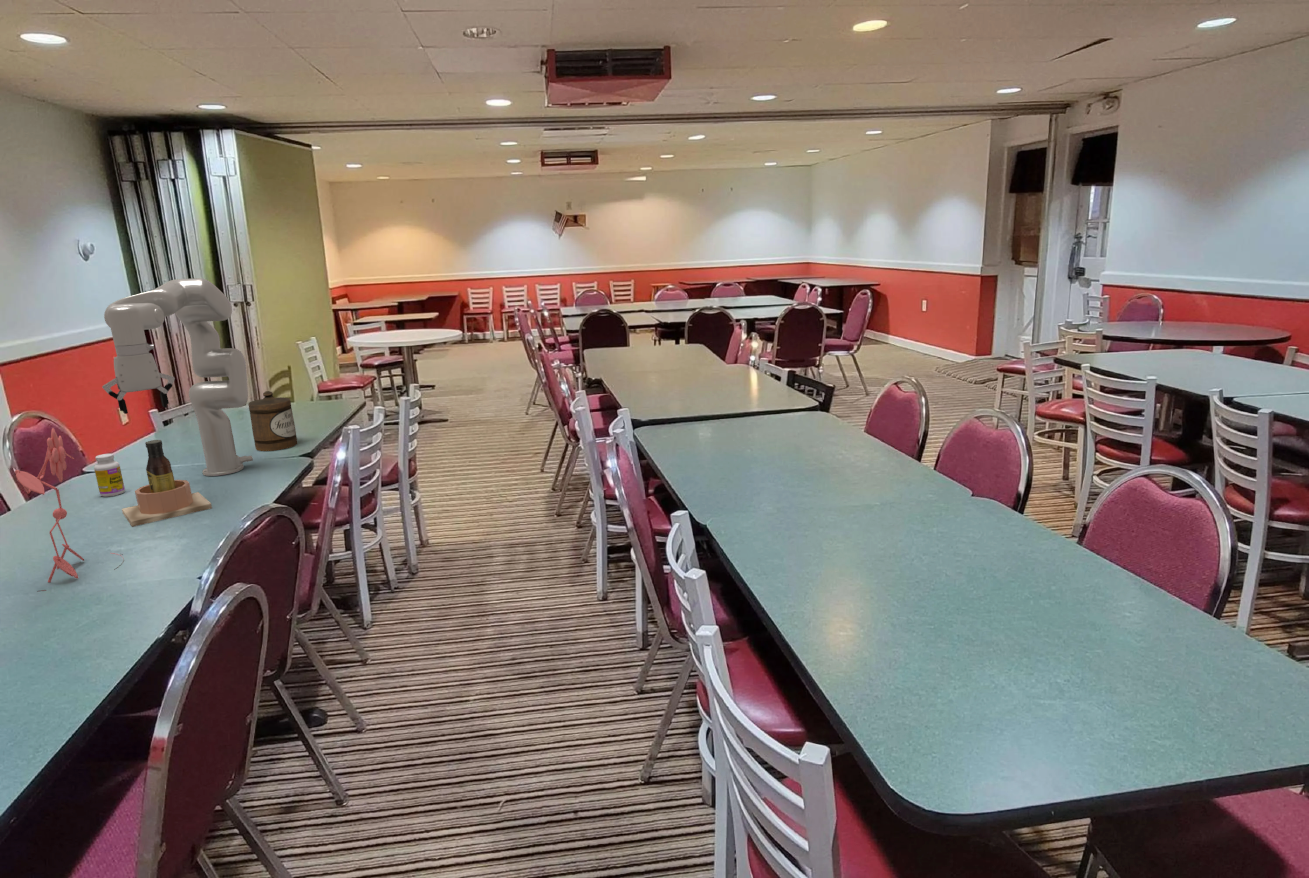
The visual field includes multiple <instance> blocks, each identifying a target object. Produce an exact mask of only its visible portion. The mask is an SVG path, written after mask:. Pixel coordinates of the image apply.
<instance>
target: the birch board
mask: <svg viewBox="0 0 1309 878" xmlns="http://www.w3.org/2000/svg"><path fill="white" fill-rule="evenodd" d="M191 493H192V498H193V502H192V503H191V504H190V505H189V506H187V507H184V508H181V509H179V510H175V511H170V512H166V513H158V514H142V513H141V512H140V511H139V508H138V504H137V505H134V506H129V507H124V508H121V512H122V514H123V516H124V517H125V519H126V521H128V523H129V524H130V527H132V528H133V527H137V526H142V525H147V524H151V523H155V522H160V521H162V520H163V521H164V520H167V519H173V518H176V517H181V516H185V515H189V514H194V513H198V512H203V511H207V510H211V509H213V507H212V503H211V502H210V501H209V500H208V499H207V498H206V497H205V496H203V495H202V494H201V493H200V492H199V491H198V492H191Z"/></svg>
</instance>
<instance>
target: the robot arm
mask: <svg viewBox="0 0 1309 878" xmlns="http://www.w3.org/2000/svg"><path fill="white" fill-rule="evenodd" d="M232 307H233V306H232V303H231V302H230V299H229V298H228V297H227V296H226V295H225V293H223V292H222V291H221V290H220V289H219V288H218V287H217V286H216V285H215V284H214V283H212V282H211V281H210V280H208V279H207V278H203V277H199V278H179V279H178V278H177V279H171V280H168V281H167V282H165V283H164V284H161V285H160V286H158V287H156V288H154V289H152V290H148V291H144V292H141V293H137V294H134V295H130V296H126V297H122V298H120V299H117V300H115V301H114V302H112V303H109V305H107V307H106V308H105V310H104V314H103V315H104V316H103V317H104V321H105V324H106V325H107V327H109V328H110V331H111V337H112V340H113V344H114V349H115V353H116V356H114V357H113V369H114V376H115V378H113V379H111V380H109V381H108V382H107V383H105V384H103V385H102V386H101V387H102V389H103V390H104V392H106V393H107V395H109V396H111V397H112V398H113V399H115V400H117V404H118V406H119V407H118V408H119V411H120V412H122V413H123V414H124V415H127V414H128V408H127V407H128V406H127V403H126V400H125V398H124V397H125V396H126V394H127V393H134V392H141V391H148V390H154V389H156V390H158V391H160V393H159V397H160V398H159V399H160V402H161V406H162V407H163V408H164V409H165V408H166V409H167V408H168V405H169V404H170V403H169V397H168V392H169V391H170V390H171V389H172V388H173V384H174V382H175V379H176V378H175V376H172V375H169V374H165V373H161V372H159V369H158V365H157V363H156V361H155V357H154V355H153V354H152V353H151V352H150V351H151V350H154V349H155V346H154V344H151V343H148V342H147V337H146V335H145V334H146V333H145V330H155V329H158V328H160V327H162V325H163V324H164V321H165V318H166V317H170V316H172V315H174V314H175V316H176V317H177V318H178V320H179V321H180V322H181V323H182V325H183V326H184V327H185V329H186V331H187V332H188V335H189V338H190V346H191V349H190V350H191V361H192V362H191V363H192V369H193V372H194V374H195V375H196V376H197V377H200V378H222V377H223V378H224V377H228V379H227V380H208V381H200V382H196V383H194V384H193V385H191V386H190V388H189V390H188V398H189V401H190V403H191V406H192V408H193V411H194V413H195V416H196V421H197V425H198V431H199V435H200V440H201V446H202V450H203V456H204V460H205V465H206V468H204V469H203V470H202V472H201V473H202V475H203V476H207V477H218V476H224V475H230V474H234V473H237V472H240V471H242V470H244V468H245V467H244V463H246V462H247V463H248V462H252V461H254V457H253V456H252V455H242V456H239V455H237V450H236V446H235V445H236V444H235V440H234V433H233V429H232V423H231V420H230V418H229V416H228V415H227V414H226V412H225V411H223V409H236V408H237V409H238V408H242V407H245V406H246V405H247V403H248V400H249V390H248V389H249V387H248V372H247V371H248V370H247V365H246V364H247V362H246V359H245V356H244V354H243V353H242V351H241V350H239V349H237V348H232V347H229V348H221V342H220V341H221V339H220V335H219V332H218V330H216V328H214V326H213V325H212V324H210V322H222V321H223V322H224V321H226V320H228V319H229V318H231V316H232V314H233V308H232ZM161 378H162V379H164V380H167V382H166V384H165V386H164V387H163V386H162V380H161ZM115 385H116V386H117V389H118V392H117V393H116V392H114V391H113V390H112V389H111V388H112V387H113V386H115Z"/></svg>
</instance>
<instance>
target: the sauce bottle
mask: <svg viewBox="0 0 1309 878" xmlns="http://www.w3.org/2000/svg"><path fill="white" fill-rule="evenodd" d="M144 445H145V447H146V449H147V457H148V458H147V463H146V468H145V470H146V475H147V481H148V485H149V486H150V490H151V493H157V492H164V491H168V490H173V489H176V486H175V481H174V480H175V476H174V472H173V469H172V464H171V461H170V460H169V458H167V457H166V456H165V453H164V449H163V441H162V439H152V440H147V441H145V442H144Z"/></svg>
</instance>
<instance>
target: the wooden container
mask: <svg viewBox="0 0 1309 878" xmlns="http://www.w3.org/2000/svg"><path fill="white" fill-rule="evenodd" d="M262 395H263V398H261V399H257V400H253V401H250V402H248V411H249V416H250V423H251V429H252V436H253V440H254V447H255V450H256V451H257V452H258V451H259V452H274V451H277V452H278V451H282V450H286V449H290V448H294V447H295V446H296V445H297V446H298V437H297V431H296V424H295V419H294V414H293V409H292V402H291V401H292V400H291V398H290V397H284V396H283V397H274V396H273V391H271V390H268V391H267V390H266V391H264V392H263V394H262Z"/></svg>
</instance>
